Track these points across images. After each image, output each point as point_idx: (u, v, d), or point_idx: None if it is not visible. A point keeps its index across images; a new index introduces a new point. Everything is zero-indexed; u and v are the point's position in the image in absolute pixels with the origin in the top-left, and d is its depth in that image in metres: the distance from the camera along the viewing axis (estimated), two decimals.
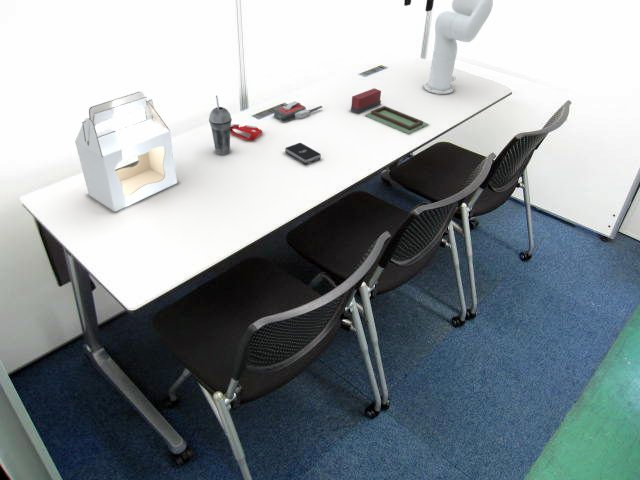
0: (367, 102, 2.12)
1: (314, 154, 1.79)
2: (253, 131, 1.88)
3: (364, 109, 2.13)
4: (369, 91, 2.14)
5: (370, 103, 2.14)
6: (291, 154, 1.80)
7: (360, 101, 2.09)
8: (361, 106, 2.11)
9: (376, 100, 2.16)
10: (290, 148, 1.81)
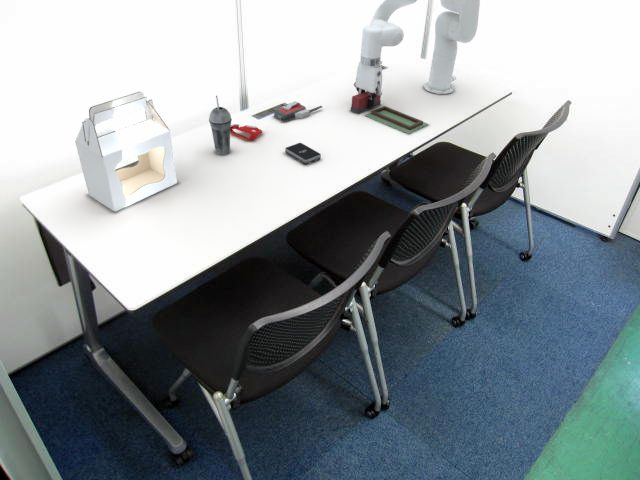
0: (367, 102, 2.12)
1: (314, 154, 1.79)
2: (253, 131, 1.88)
3: (364, 109, 2.13)
4: None
5: None
6: (291, 154, 1.80)
7: (360, 101, 2.09)
8: (361, 106, 2.11)
9: (376, 100, 2.16)
10: (290, 148, 1.81)
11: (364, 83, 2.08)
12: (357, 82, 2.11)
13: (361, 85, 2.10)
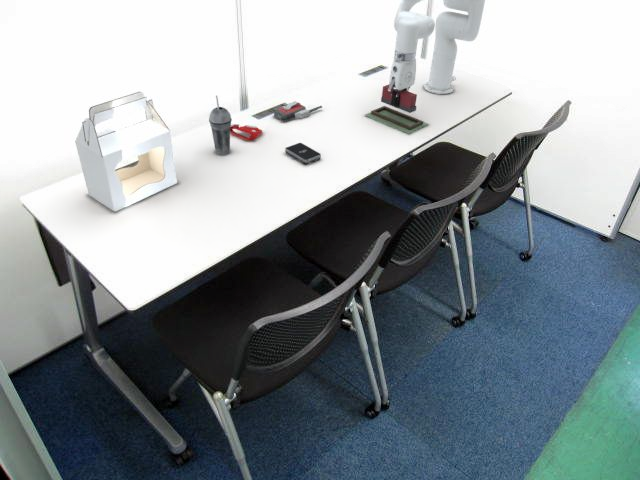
0: None
1: (314, 154, 1.79)
2: (253, 131, 1.88)
3: (389, 102, 2.04)
4: (406, 91, 2.00)
5: None
6: (291, 154, 1.80)
7: (384, 90, 2.03)
8: (385, 96, 2.04)
9: (404, 103, 1.99)
10: (290, 148, 1.81)
11: None
12: None
13: None
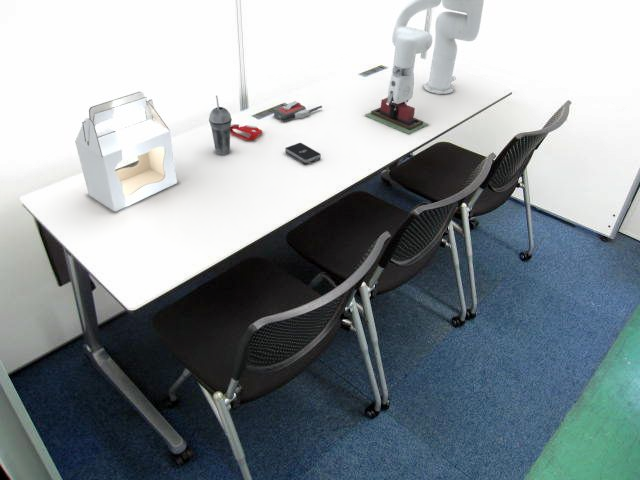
0: None
1: (314, 154, 1.79)
2: (253, 131, 1.88)
3: (387, 115, 2.07)
4: (404, 105, 2.03)
5: None
6: (291, 154, 1.80)
7: (383, 103, 2.07)
8: (384, 109, 2.07)
9: (402, 117, 2.02)
10: (290, 148, 1.81)
11: None
12: None
13: None
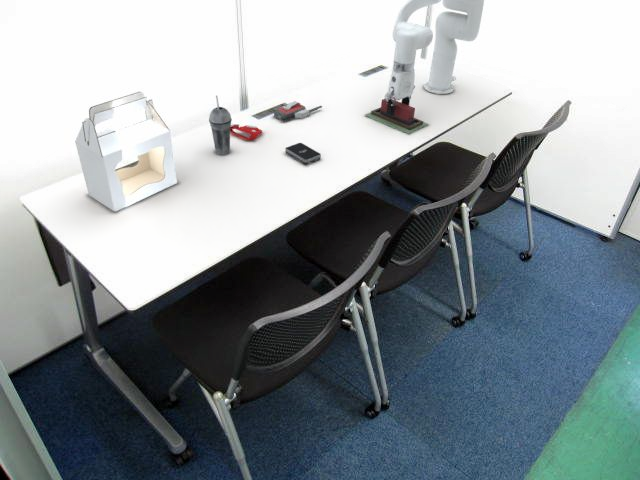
0: None
1: (314, 154, 1.79)
2: (253, 131, 1.88)
3: (388, 115, 2.08)
4: (404, 105, 2.03)
5: (395, 114, 2.05)
6: (291, 154, 1.80)
7: (383, 103, 2.07)
8: (384, 109, 2.08)
9: (403, 117, 2.03)
10: (290, 148, 1.82)
11: None
12: None
13: None
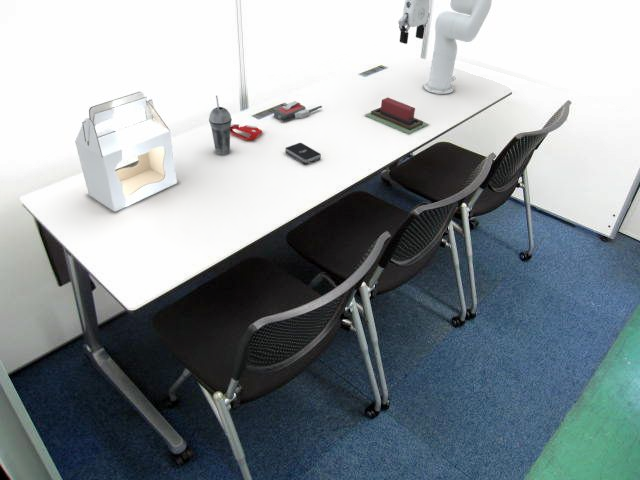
0: (391, 111, 2.06)
1: (314, 154, 1.79)
2: (253, 131, 1.88)
3: (388, 115, 2.08)
4: (404, 105, 2.03)
5: (395, 114, 2.05)
6: (291, 154, 1.80)
7: (383, 103, 2.07)
8: (384, 109, 2.08)
9: (403, 117, 2.03)
10: (290, 148, 1.82)
11: None
12: None
13: None
